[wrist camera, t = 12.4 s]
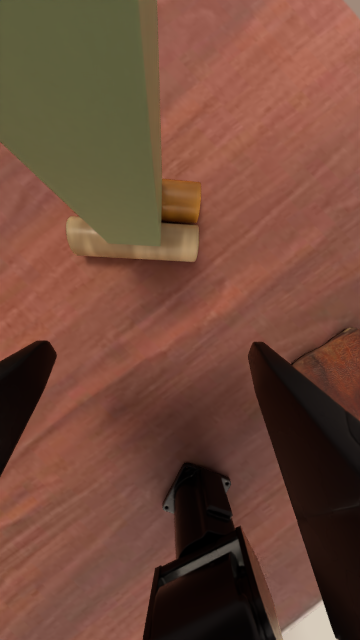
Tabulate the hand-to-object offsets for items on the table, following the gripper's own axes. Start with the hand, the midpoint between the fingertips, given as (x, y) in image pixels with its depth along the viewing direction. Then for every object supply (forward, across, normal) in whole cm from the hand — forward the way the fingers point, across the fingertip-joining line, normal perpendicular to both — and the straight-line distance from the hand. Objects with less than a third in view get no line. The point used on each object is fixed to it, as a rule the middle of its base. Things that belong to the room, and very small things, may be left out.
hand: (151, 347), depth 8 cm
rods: (+14, +3, -2) cm, 15 cm away
